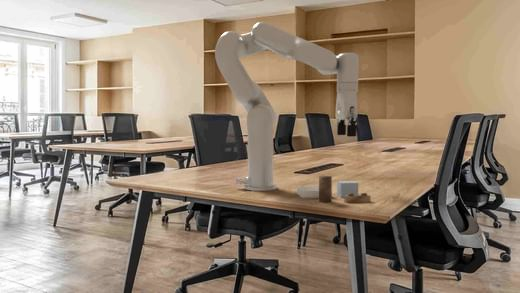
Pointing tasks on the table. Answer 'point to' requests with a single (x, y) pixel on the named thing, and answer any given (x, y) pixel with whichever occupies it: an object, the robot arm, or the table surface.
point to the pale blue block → (346, 188)
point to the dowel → (325, 188)
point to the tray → (308, 191)
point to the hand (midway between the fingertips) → (346, 135)
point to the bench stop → (357, 198)
